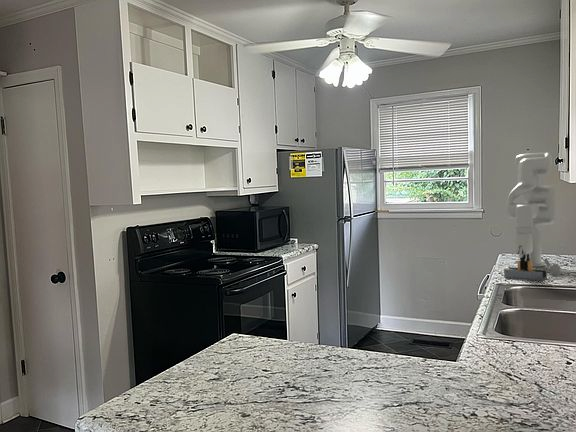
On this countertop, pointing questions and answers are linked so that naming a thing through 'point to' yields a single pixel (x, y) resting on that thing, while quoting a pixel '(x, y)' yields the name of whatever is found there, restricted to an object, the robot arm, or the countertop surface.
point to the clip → (530, 265)
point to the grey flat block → (525, 274)
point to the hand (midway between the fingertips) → (525, 268)
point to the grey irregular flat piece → (553, 268)
